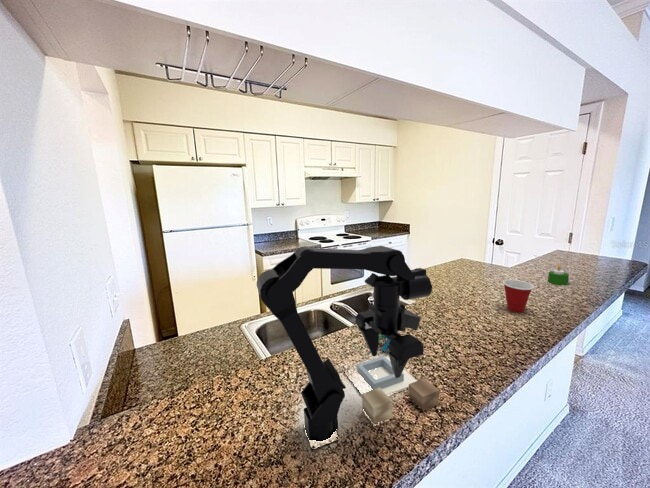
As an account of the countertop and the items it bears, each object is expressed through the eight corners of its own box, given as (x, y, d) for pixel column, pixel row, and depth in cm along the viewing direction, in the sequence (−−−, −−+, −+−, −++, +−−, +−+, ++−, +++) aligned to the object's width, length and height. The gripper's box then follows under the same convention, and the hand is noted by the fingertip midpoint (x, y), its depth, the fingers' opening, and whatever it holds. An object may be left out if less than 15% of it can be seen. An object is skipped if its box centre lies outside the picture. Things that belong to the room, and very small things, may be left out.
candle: (544, 282, 150) (545, 264, 148) (554, 280, 152) (556, 262, 150) (560, 286, 142) (562, 267, 140) (571, 284, 144) (573, 265, 143)
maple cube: (373, 427, 61) (373, 408, 61) (362, 412, 66) (362, 393, 65) (392, 420, 63) (392, 400, 62) (380, 405, 68) (379, 387, 67)
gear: (411, 348, 89) (391, 332, 86) (402, 364, 88) (381, 348, 85) (390, 337, 99) (372, 323, 96) (382, 352, 98) (363, 337, 95)
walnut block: (422, 411, 65) (422, 396, 65) (408, 398, 70) (408, 384, 69) (438, 404, 67) (438, 390, 66) (424, 392, 72) (424, 378, 71)
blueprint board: (368, 404, 68) (368, 393, 68) (343, 372, 81) (343, 363, 81) (419, 385, 74) (419, 375, 74) (388, 358, 87) (388, 349, 86)
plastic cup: (524, 317, 110) (526, 289, 108) (496, 309, 119) (497, 282, 117) (537, 311, 115) (539, 283, 113) (509, 303, 124) (510, 277, 122)
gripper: (446, 311, 56) (442, 380, 58) (391, 286, 73) (390, 340, 75) (401, 321, 52) (399, 395, 54) (354, 292, 69) (354, 349, 71)
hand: (385, 365), depth 64 cm, fingers open, 9 cm apart
